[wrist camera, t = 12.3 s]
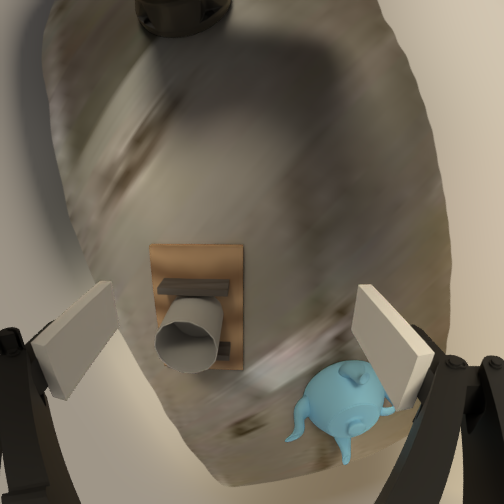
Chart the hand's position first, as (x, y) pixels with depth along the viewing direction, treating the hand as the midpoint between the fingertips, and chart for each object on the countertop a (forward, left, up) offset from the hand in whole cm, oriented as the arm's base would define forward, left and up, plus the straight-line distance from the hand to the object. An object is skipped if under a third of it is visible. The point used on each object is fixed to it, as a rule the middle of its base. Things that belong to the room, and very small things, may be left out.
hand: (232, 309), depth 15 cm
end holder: (+15, -7, -29) cm, 33 cm away
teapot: (+32, +18, -29) cm, 47 cm away
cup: (+15, -7, -28) cm, 32 cm away
